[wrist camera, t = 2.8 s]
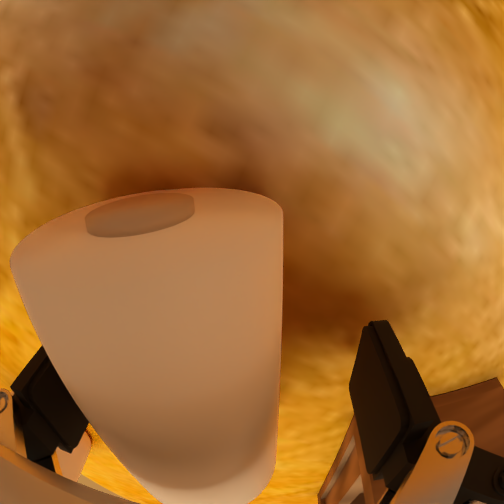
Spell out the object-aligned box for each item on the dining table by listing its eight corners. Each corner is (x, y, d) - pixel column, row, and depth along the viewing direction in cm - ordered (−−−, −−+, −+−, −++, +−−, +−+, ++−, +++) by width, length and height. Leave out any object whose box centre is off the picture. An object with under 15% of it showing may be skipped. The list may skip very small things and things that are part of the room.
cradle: (355, 410, 12) (375, 510, 7) (496, 377, 12) (533, 443, 7) (317, 495, 18) (320, 548, 13) (419, 475, 18) (430, 522, 12)
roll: (138, 179, 9) (-22, 242, 4) (313, 183, 7) (148, 321, 2) (182, 390, 14) (112, 472, 9) (294, 427, 11) (239, 538, 6)
